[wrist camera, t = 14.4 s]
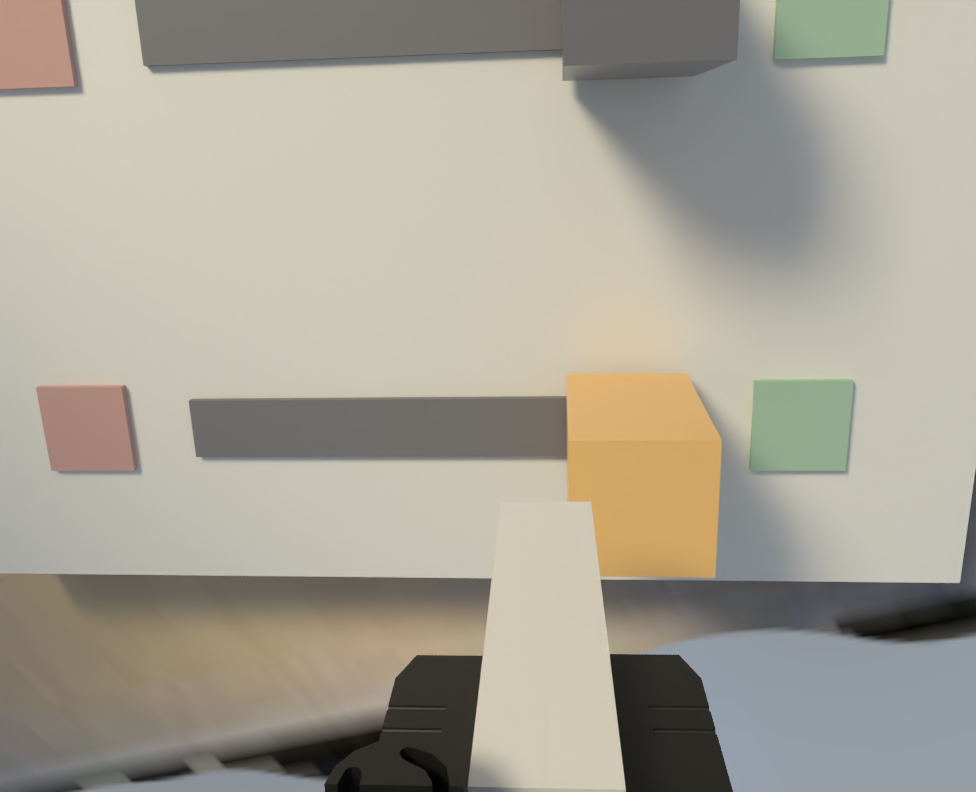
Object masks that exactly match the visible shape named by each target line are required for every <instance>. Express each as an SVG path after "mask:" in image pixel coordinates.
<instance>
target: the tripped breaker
mask: <svg viewBox="0 0 976 792" xmlns="http://www.w3.org/2000/svg"><path fill="white" fill-rule="evenodd" d="M566 400H567V502H591V505H592V514H593V522H594V530H595V539H596V547H597V555H598V563H599V572H600V577H694V578H715V573H716V552H717V532H718V511H719V490H720V470H721V449H722V440H721V438H720V436H719V434H718V432H717V430H716V428H715V426H714V424H713V422H712V420H711V419H710V417H709V415H708V413H707V411H706V409H705V407H704V405H703V403H702V401H701V399H700V397H699V396H698V394H697V392H696V390H695V388H694V386H693V384H692V382H691V380H690V378H689V376H688V375H687V373H632V374H566Z"/></svg>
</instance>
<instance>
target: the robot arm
mask: <svg viewBox="0 0 976 792" xmlns="http://www.w3.org/2000/svg"><path fill="white" fill-rule="evenodd" d="M325 792H733V790H732V787H731V783H730V780H729V776H728V773H727V769H726V766H725V762H724V758H723V755H722V751H721V748H720V744H719V740H718V737H717V735H716V734H715V726H714V723H713V719H712V716H711V712H709V705H708V701H707V698H706V694H705V691H704V687H703V683H702V680H701V678H700V677H699V676H698V675H697V674H696V673H695V672H694V670H693V669H692V668H691V667H690V666H689V665H688V664H687V663H686V662H685V661H684V660H683V659H682V658H681V657H680V656H679V655H628V654H609V646H608V638H607V630H606V621H605V613H604V605H603V596H602V588H601V580H600V572H599V563H598V555H597V547H596V539H595V530H594V522H593V514H592V505H591V502H501V503H500V512H499V520H498V529H497V538H496V546H495V555H494V563H493V572H492V581H491V589H490V598H489V607H488V615H487V624H486V633H485V641H484V650H483V656H431V655H417V656H416V657H415V658H414V659H413V660H412V661H411V662H410V663H409V664H408V666H407V667H406V668H405V669H404V670H403V671H402V672H401V673H400V674H399V675H398V676H397V677H396V679H395V683H394V686H393V690H392V694H391V698H390V701H389V708H388V710H387V713H386V716H385V720H384V724H383V732H382V733H381V735H380V739H379V741H378V742H375V743H373V744H370V745H368V746H365V747H363V748H360V749H358V750H355V751H354V752H352V753H351V754H350V755H349V756H347V757H346V758H345V759H343V760H342V761H341V762H340V763H338V764H337V765H336V766H335V768H334V769H333V771H332V772H331V774H330V776H329V777H328V779H327V781H326V782H325Z"/></svg>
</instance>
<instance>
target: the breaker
mask: <svg viewBox="0 0 976 792" xmlns="http://www.w3.org/2000/svg"><path fill="white" fill-rule="evenodd" d="M739 11H740V0H562V81H576V80H603V79H631V78H658V77H685V76H696V75H699V74H701V73H704V72H707V71H709V70H712V69H714V68H717V67H719V66H722V65H724V64H727V63H729V62H732V61H734V60H737V53H738V32H739Z"/></svg>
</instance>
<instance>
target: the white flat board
mask: <svg viewBox="0 0 976 792" xmlns="http://www.w3.org/2000/svg"><path fill="white" fill-rule="evenodd" d="M632 373H687V375H688V376H689V378H690V380H691V382H692V384H693V386H694V388H695V390H696V392H697V394H698V396H699V397H700V399H701V401H702V403H703V405H704V407H705V409H706V411H707V413H708V415H709V417H710V419H711V420H712V422H713V424H714V426H715V428H716V430H717V432H718V434H719V436H720V438H721V440H722V449H721V470H720V490H719V511H718V532H717V552H716V573H715V578H694V577H600V579H606V580H706V581H806V582H906V583H960V578H961V571H962V564H963V557H964V549H965V542H966V535H967V528H968V520H969V513H970V506H971V499H972V491H973V484H974V477H975V469H976V0H740V11H739V32H738V53H737V60H734V61H732V62H729V63H727V64H724V65H722V66H719V67H717V68H714V69H712V70H709V71H707V72H704V73H701V74H699V75H696V76H685V77H658V78H631V79H603V80H576V81H562V0H0V573H6V574H106V575H206V576H306V577H406V578H492V572H493V563H494V555H495V546H496V538H497V529H498V520H499V512H500V503H501V502H567V400H566V374H632Z"/></svg>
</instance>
